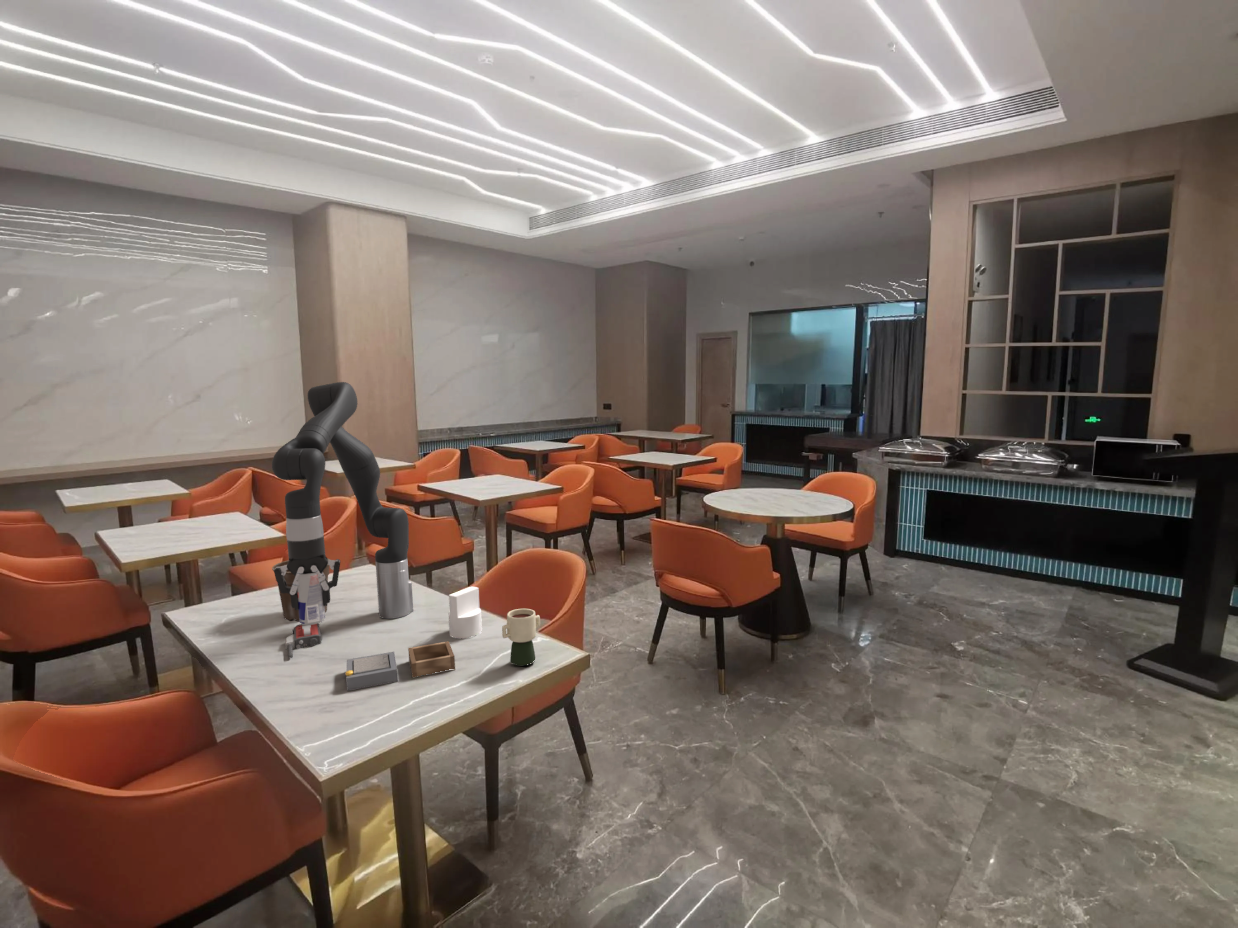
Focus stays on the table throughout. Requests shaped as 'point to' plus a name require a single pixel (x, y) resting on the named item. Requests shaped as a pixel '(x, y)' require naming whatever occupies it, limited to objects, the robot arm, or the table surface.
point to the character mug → (521, 635)
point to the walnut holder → (431, 658)
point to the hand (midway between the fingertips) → (311, 606)
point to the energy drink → (310, 599)
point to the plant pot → (287, 609)
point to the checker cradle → (371, 674)
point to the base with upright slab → (465, 613)
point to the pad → (371, 664)
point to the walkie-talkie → (303, 637)
